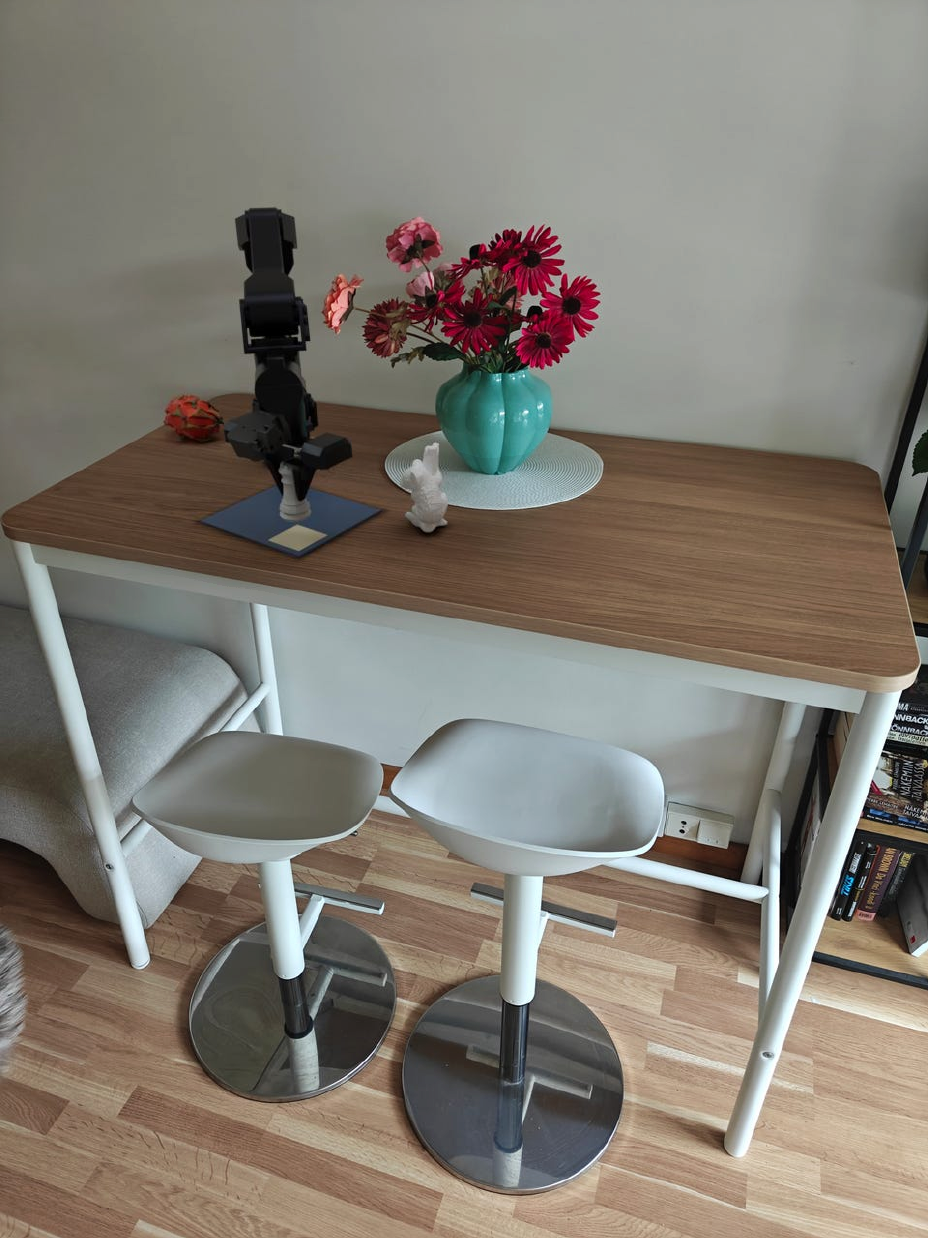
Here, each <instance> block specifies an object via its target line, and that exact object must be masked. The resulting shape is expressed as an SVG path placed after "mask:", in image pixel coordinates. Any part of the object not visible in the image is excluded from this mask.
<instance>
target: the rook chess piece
mask: <svg viewBox="0 0 928 1238" xmlns="http://www.w3.org/2000/svg"><path fill="white" fill-rule="evenodd" d="M285 461H286V460H285ZM280 466H281V467H280V468H279V470H278V471H279V472H280V473H281V475H282V476H283V478H282V480H281V481H282V482H283V486H284V496H283V499H282V503H281V504H280V510H281V512H280V516H281V517H282V518H283V519H284V520H286V521H290V522H298V521H303V520H305V519H307V518H308V517H309V516H310V514H311V510H310V509H309V508H310V504H309V502H308V501H307V500H306V498H305V500H303V501H301V502H300V501H298V499H297V496H296V492H295V485H294V479H293V473H292V469H291V468H290V467H289V466H288V465H286V464H284V462H281V464H280Z"/></svg>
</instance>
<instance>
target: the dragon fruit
mask: <svg viewBox="0 0 928 1238" xmlns="http://www.w3.org/2000/svg"><path fill="white" fill-rule="evenodd" d="M164 412H165V413H166V415H165V417H164V420H163V422H162V423H163V424H164V426H167V427H170V428H172V429H173V430H174V433H175V435H176V436H177V437H178V439H179V440H183V439H185V437H188V438H191V439H193V440H194V441H198V442H207V441H210V440H211V441H212V438H210V437H205V436H206V435H209V434H217V433H220V432H221V429H222V426H221V425H223V426H224V425H225V423H224V421H223V420H224V418H223V416H222V415H223V414H222V413H220V410H218V409H216V408H215V405H214V404H212V403H211V402H209V401H207V400H201V399H200V397H199V396H197V395H194V394H190V395H188V394H186V393H181V394H179V395H178V396H175V397H172V398H171V400H170V402H169V403H168V405H167V406H166V407H165V410H164Z"/></svg>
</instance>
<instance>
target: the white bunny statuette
mask: <svg viewBox="0 0 928 1238" xmlns="http://www.w3.org/2000/svg"><path fill="white" fill-rule="evenodd" d="M439 444H440V443H438V442H433V443H432V445H426V446H425V447H424V450H423V451H424V452H423V460H420V459H417V458H416V459H414V460H413V461H412V463H411V466H409V467H408V468H407V469H406V470H405V471H404V473H403V475H402V477H401V480H400V481H399V485H400V487H401V488H404V489H407V490H410V491H411V493H410V498H411V500H412V501H413V502H414V504H413V505H412V506H411V508H410V509H411V511H407V512H405V515H404V516H405V518H406V519H408V520H409V522H410V523H411V524H412V525H413V526H415V527H416V528H417V527H418V528H420V529H421V530H422V532H425V533H432V532H433V531H434V530H435V529H436V527H443V526H446V525H448V521H447V520H445V519H444V517H445V514H446V513H447V509H448V506H449V500H448V499H449V498H448V496H447V495H446V493H445V492H444V491H440V487H441V486H442V485H443V480H444V479H443V475H442V473H441V470H440V469H439V451H440V447H439V446H440V445H439Z"/></svg>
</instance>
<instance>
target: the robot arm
mask: <svg viewBox="0 0 928 1238" xmlns="http://www.w3.org/2000/svg"><path fill="white" fill-rule="evenodd" d="M295 218H296V217H295V216H293V215H290V214H287V213H285V212H283V211H282V208H277V207H276V206H275V207H274V206H272V207H269V206H268V207H249V208H248V210H247V209H246V210H245V209H244V213H243V214H241V215H239V216H238V217H235V218H234V224H235V235H236V242H237V247H238V248H237V249H238V250H239V252H243V254H244V261H245V266H246V268H247V269H248V271H249V272H250V273H251V274H250V276H249V277H247V279H245V280H244V281H243V298H239V299H238V305H239V315H240V326H241V333H242V334H241V337H242V344H243V354H244V355H253V356H254V357H253V359H254V365H255V372H254V395H255V397H254V398H252V403H251V408H252V409H251V411H250V412H247V413H245V414H242V415H240V416H237V417H234V418H232V419H229V420H227V421H226V424H225V426H224V427H223V433H224V440H225V443H228V444H230V445H231V448H232V449H233V451H234V453H235V455H236V457H237V458H243V459H247V460H250V461H251V462H255V463H259V462H261V461H263V463H265V465H266V468H267V469H268V471H269V473H270V475H271V477H272V478H273V481H274V483H275V484H276V485H277V487H278V489H279V491H280V493H281V495H282V496H284V486H283V482H282V481H281V480H282V478H283V476H282V475H281V473H280V472H279V471H278V470H279V468H280V467H281V466H280V464H281V462H284V464H286V465H288V466H289V467H290V468H291V469H292V473H293V479H294V485H295V492H296V496H297V499H298V501H300V502H301V501H303V500H305V498H306V495H307V493H308V490H309V488H311V485H312V482H313V479H314V477H315V474H316V472H317V470H318V471H319V470H320V471H327V470H329V469H331V468H333V467H335V466H337V465H340V464H341V463H343V462H345V461H348V460H349V459H351V458H353V447H352V442H351V440H350V439H348V438H347V437H345V436H342V435H339V434H335V433H331V432H324V433H322V434H320V435H317V436H311V432H313V431H315V430H316V428H318V427H319V419H318V417H319V416H318V405H317V401H316V400H314V398H313V397H312V393H310V392H308V391H307V382H306V379H305V377H303V375H302V366H301V365H302V364H301V357H300V352H307V350H308V349H307V342H311V331H310V323H309V314H308V313H309V312H308V306H307V304H305V302H304V298H302V296H301V295H297V296H296V288H295V281H294V279H293V278H292V277H290V273H291V271H292V269H293V267H294V265H295V259H294V250H298V240H297V239H298V238H297V228H296V219H295ZM299 334H300V340H299V337H298V335H299ZM249 337H250V338H251V339H250V343H249ZM285 460H286V461H285Z"/></svg>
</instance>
